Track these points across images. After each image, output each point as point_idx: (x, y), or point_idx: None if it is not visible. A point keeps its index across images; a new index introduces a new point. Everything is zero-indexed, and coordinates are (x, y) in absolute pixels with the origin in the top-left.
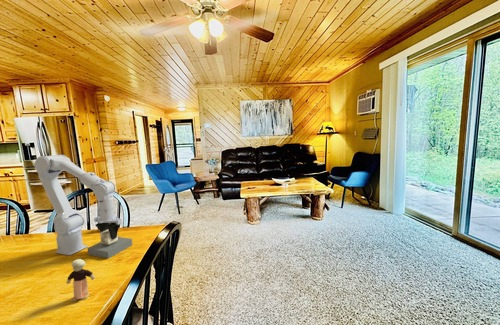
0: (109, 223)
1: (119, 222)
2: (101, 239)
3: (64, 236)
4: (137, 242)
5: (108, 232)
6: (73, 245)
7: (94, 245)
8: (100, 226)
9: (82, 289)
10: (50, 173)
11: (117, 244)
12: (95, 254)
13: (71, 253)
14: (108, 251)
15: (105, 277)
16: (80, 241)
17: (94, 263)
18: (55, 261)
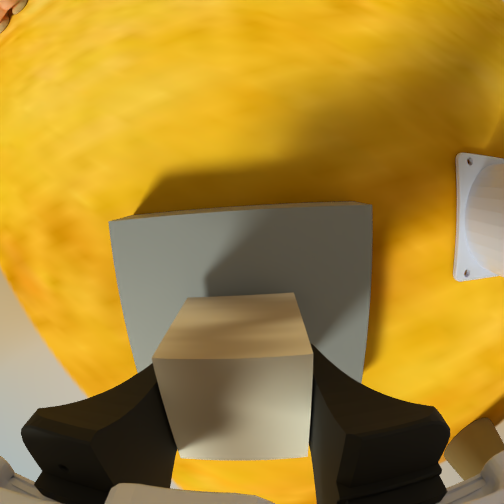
0: (482, 460)
1: None
2: (288, 311)
3: None
4: None
5: (190, 392)
6: (498, 194)
7: (357, 261)
8: (334, 436)
9: None
10: None
11: (160, 339)
12: (270, 205)
13: (462, 167)
14: (109, 228)
15: (6, 102)
16: (500, 250)
17: (168, 134)
18: (457, 86)
